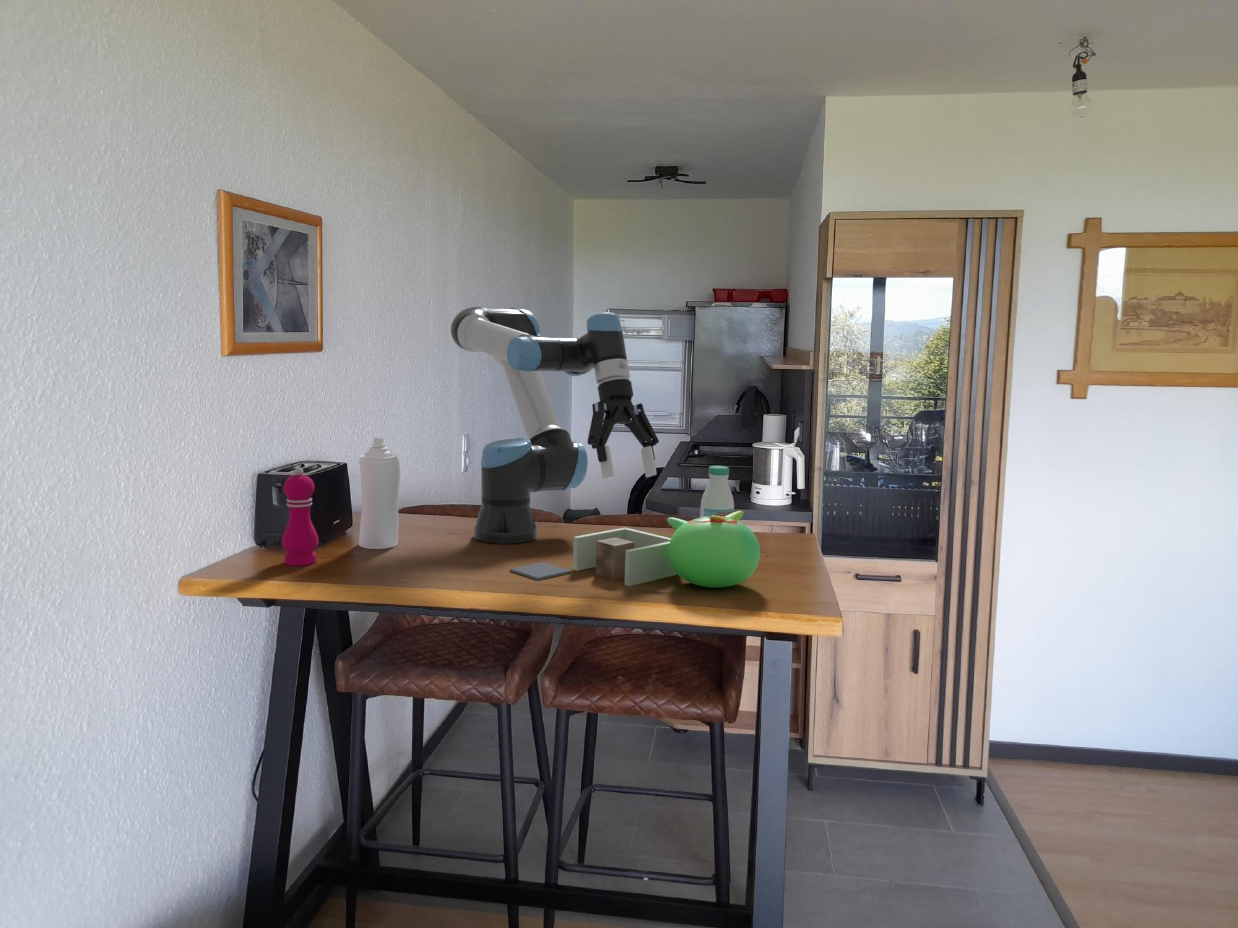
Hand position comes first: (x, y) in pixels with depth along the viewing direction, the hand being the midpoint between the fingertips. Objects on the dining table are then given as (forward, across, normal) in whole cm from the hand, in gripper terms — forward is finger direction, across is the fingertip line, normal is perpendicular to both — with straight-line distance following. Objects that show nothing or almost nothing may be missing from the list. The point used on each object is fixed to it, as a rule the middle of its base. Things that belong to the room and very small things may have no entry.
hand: (630, 476), depth 191 cm
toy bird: (+26, 0, -17) cm, 31 cm away
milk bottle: (+19, +22, -2) cm, 29 cm away
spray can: (+5, -33, +50) cm, 60 cm away
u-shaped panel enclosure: (+20, -7, 0) cm, 21 cm away
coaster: (+17, -20, +11) cm, 29 cm away
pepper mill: (+7, -53, +48) cm, 72 cm away
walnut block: (+20, -10, 0) cm, 23 cm away
